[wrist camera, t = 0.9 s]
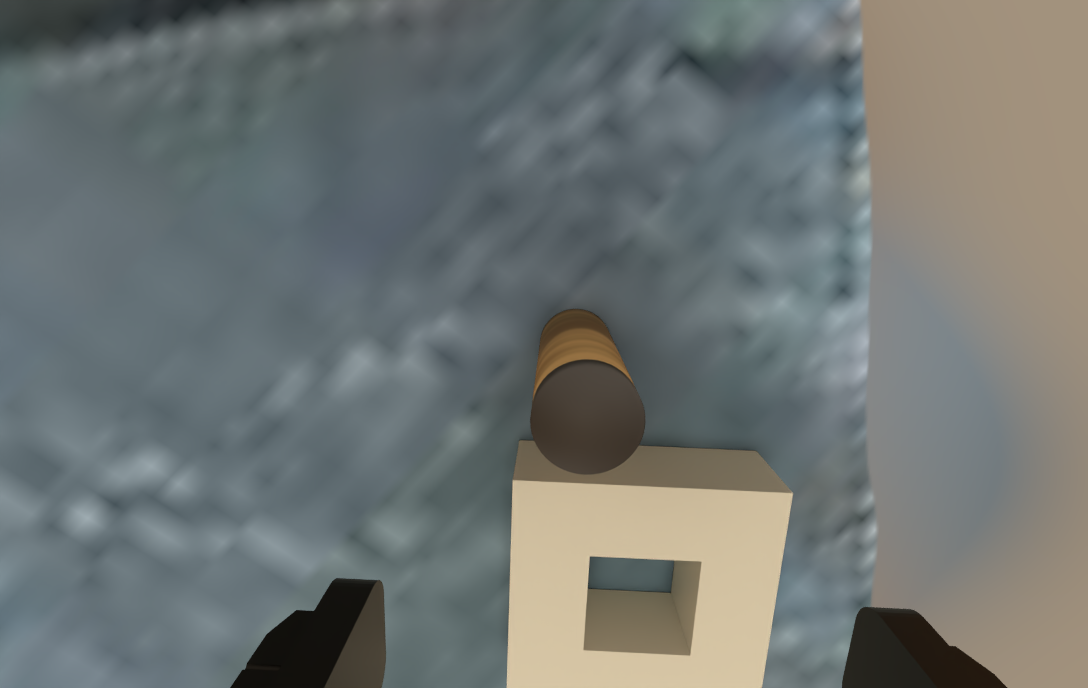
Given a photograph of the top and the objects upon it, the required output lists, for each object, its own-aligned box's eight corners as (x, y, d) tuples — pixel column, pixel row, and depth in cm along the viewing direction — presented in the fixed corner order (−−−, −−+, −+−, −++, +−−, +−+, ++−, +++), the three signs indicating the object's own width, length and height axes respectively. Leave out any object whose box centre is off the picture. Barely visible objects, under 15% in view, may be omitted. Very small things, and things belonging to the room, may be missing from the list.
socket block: (519, 440, 32) (512, 480, 27) (756, 450, 32) (792, 493, 27) (513, 639, 35) (506, 708, 30) (728, 650, 35) (756, 721, 30)
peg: (541, 307, 30) (532, 363, 18) (613, 310, 30) (649, 369, 18) (538, 376, 31) (528, 472, 19) (608, 379, 31) (640, 477, 19)
